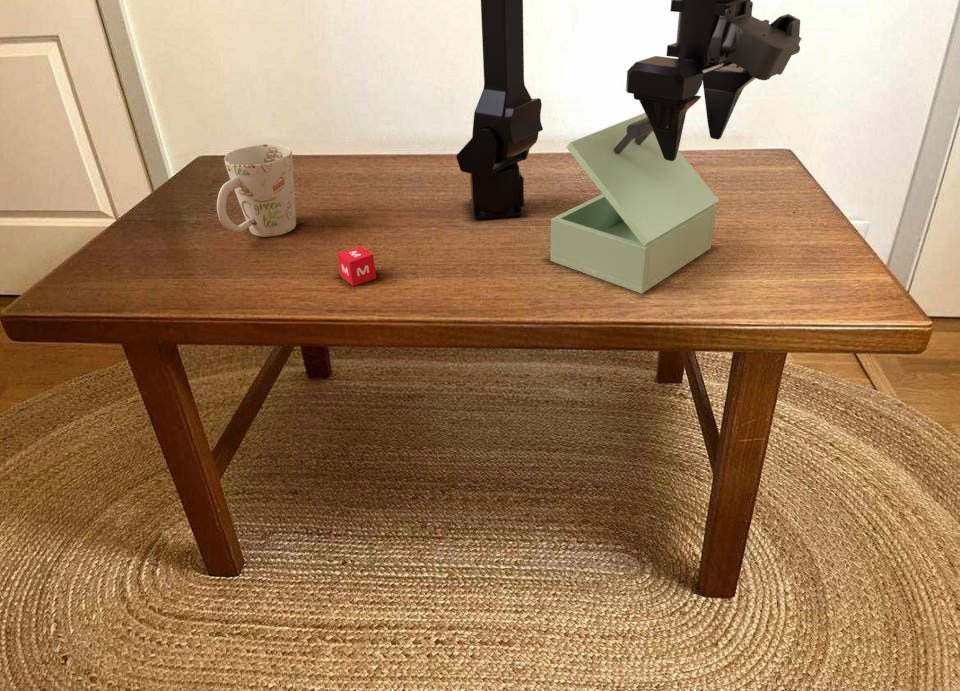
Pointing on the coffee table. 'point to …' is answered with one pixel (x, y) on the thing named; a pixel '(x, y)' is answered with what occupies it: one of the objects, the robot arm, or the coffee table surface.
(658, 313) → the coffee table surface
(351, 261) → the red letter cube
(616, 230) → the chest
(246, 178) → the mug
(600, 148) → the lid
